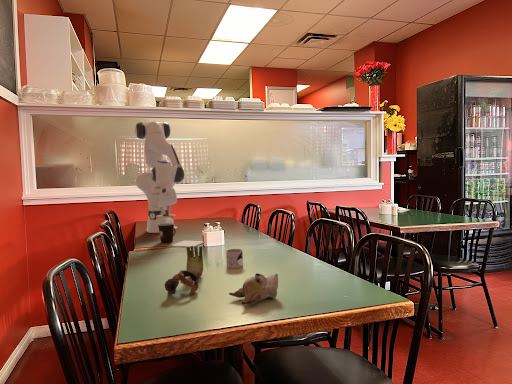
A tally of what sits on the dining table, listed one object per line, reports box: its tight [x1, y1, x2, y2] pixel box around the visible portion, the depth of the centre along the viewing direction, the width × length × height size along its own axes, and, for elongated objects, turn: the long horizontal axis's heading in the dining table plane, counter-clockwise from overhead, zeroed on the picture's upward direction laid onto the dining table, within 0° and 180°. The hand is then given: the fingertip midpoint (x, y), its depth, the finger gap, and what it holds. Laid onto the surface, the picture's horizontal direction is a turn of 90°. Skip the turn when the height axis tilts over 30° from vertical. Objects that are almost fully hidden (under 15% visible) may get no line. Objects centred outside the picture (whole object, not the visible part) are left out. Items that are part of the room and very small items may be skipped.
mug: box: [225, 248, 244, 270], centre depth 152 cm, size 10×7×7 cm, turn 168°
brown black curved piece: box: [164, 269, 200, 296], centre depth 119 cm, size 12×10×8 cm
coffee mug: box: [158, 223, 177, 244], centre depth 205 cm, size 12×9×10 cm
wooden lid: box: [156, 211, 176, 219], centre depth 204 cm, size 10×10×3 cm
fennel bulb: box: [185, 245, 204, 278], centre depth 137 cm, size 6×5×12 cm
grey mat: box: [171, 240, 205, 249], centre depth 198 cm, size 13×13×1 cm
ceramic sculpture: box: [228, 272, 279, 306], centre depth 112 cm, size 11×9×15 cm
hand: (165, 213), depth 204 cm, fingers closed on wooden lid, 3 cm apart
